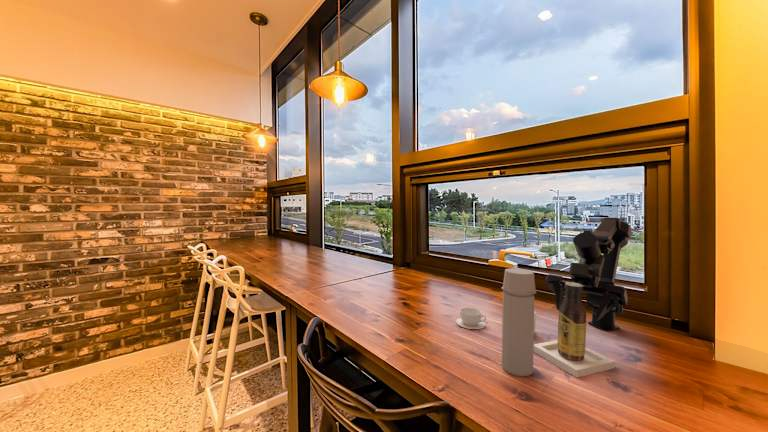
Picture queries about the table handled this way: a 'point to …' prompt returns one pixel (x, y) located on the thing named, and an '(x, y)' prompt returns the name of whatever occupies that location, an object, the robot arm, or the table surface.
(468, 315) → the teacup
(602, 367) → the holder tray
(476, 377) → the table surface
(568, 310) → the sauce bottle
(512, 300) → the water bottle
